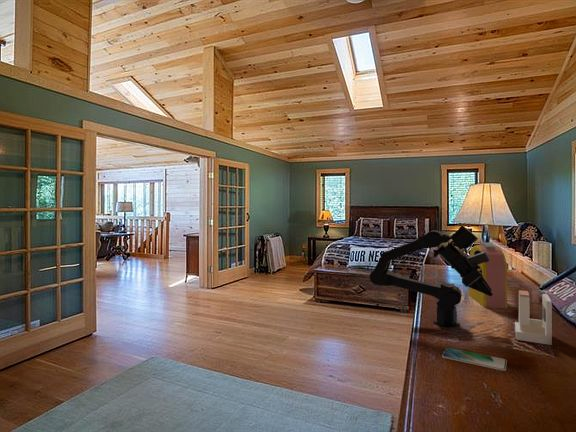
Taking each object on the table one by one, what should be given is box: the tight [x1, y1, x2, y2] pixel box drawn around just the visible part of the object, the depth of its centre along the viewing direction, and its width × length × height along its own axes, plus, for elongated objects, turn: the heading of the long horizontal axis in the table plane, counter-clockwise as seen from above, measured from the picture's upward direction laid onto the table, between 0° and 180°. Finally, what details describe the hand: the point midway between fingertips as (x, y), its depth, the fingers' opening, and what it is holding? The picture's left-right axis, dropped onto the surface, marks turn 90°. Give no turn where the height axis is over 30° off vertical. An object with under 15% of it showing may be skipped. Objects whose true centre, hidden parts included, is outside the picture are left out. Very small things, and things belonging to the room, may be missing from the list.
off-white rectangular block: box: [518, 289, 531, 330], centre depth 111 cm, size 2×7×11 cm, turn 149°
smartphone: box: [441, 347, 508, 372], centre depth 93 cm, size 7×1×15 cm
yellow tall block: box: [468, 242, 508, 309], centre depth 153 cm, size 21×9×26 cm, turn 168°
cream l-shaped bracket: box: [514, 293, 553, 346], centre depth 110 cm, size 9×11×13 cm
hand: (491, 293), depth 116 cm, fingers open, 7 cm apart
